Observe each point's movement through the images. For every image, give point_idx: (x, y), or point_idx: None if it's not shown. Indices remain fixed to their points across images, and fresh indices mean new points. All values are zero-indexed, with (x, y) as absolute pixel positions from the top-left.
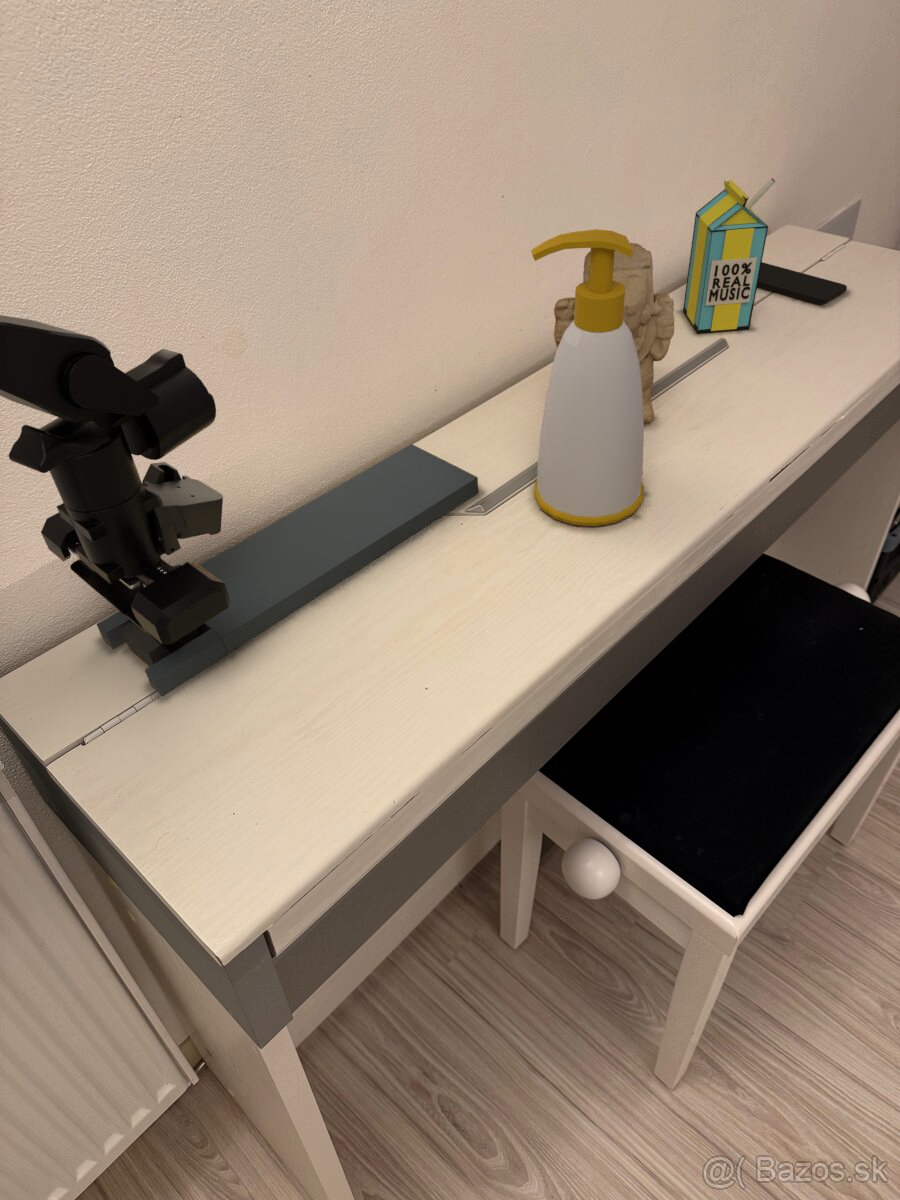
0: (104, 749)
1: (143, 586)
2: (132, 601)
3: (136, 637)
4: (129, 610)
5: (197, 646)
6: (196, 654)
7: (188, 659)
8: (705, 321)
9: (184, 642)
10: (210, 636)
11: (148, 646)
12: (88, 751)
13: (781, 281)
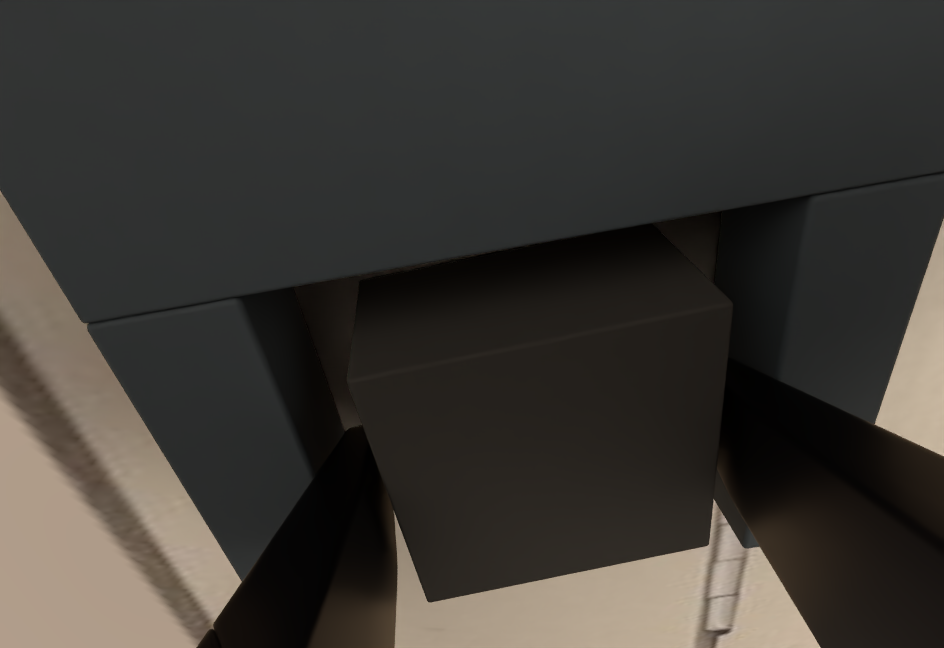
0: (791, 602)
1: (303, 643)
2: (362, 642)
3: (559, 566)
4: (388, 619)
5: (861, 328)
6: (895, 350)
7: (882, 393)
8: None
9: (766, 376)
10: (874, 232)
11: (671, 540)
12: (758, 627)
13: None
